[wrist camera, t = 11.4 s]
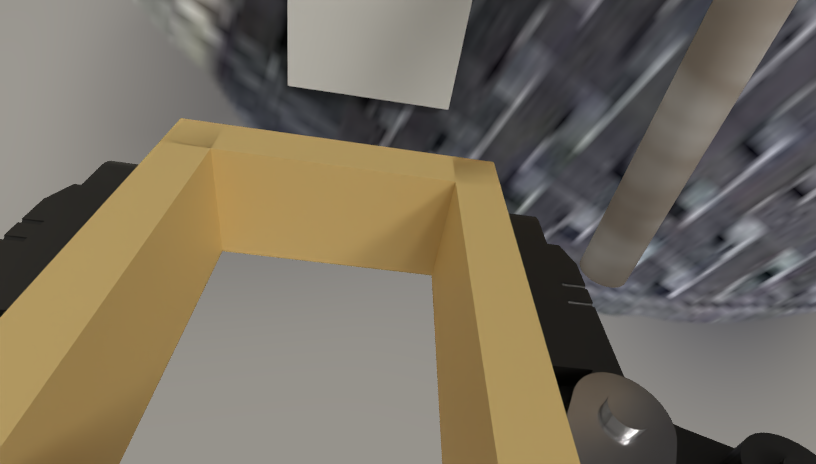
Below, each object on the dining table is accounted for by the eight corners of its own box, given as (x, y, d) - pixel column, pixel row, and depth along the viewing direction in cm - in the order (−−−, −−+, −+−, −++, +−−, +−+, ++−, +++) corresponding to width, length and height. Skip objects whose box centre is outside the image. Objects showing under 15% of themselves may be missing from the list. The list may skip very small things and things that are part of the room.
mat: (487, -80, 22) (489, -78, 21) (447, 104, 27) (448, 109, 27) (290, -117, 21) (287, -116, 20) (290, 80, 26) (287, 85, 26)
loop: (493, 162, 10) (642, 680, 4) (466, 251, 11) (537, 725, 5) (180, 118, 9) (-300, 648, 3) (195, 218, 11) (-101, 710, 5)
